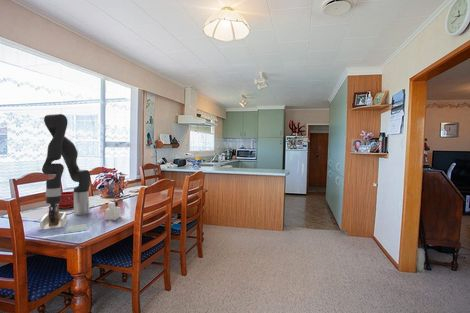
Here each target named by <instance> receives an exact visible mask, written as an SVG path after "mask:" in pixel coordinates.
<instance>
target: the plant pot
mask: <svg viewBox="0 0 470 313" xmlns="http://www.w3.org/2000/svg"><path fill="white" fill-rule="evenodd" d="M70 207H71V208H74V191H61V202H59V203H58V209H60V208H66V209H71V208H70Z"/></svg>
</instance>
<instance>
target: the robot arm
mask: <svg viewBox="0 0 470 313" xmlns="http://www.w3.org/2000/svg"><path fill="white" fill-rule="evenodd" d="M43 122H44V125H45V126H46V128H47V130H48V131H49V134H50V135H51V137H52V138H51V140H50V142H49V144H48V146H47V151H46V157H45V161H44V163H43V165H42V169H41V172H42V173H43V175H47V176H49V175H51V176H53V175H54V176H55V177H51V178H48V179H46V182H45V183H46V184H45V185H46V186H45V203H46V204H49V206H48V214H49V217H50V223H54V222H55V213H56V212H57V209H59V208H58V203H59V202H61V192H62V188H61V181H62V176H63V174H64V170H65V166H66V168H67V170H68V174H69V177H70V179H71V180H72V181H73V182H75V183H78V186H75V187H73V192H74V206H73V215H75V216H82V215H87V214H89V213H90V199H89V198H90V196H89V195H90V193H89V192H90V191H89V190H90V187H91V173H90V171H89V170H88V169H80V167H79V166H78V160H77V159H78V155H79V154H78V150H77V148H76V145H75V144H74V143H73V142H72V141H71V140H70V139H69V138H68V137H67V136H65V135H66V131H67V128H68V123H69V122H68V117H67V116H66V115H65V114H63V113H52V114H46V115H45V116H44V118H43ZM62 158H63V161H64V163H65V166H64V165H63V164H62V163H54V162H56V161H59V160H61V159H62ZM52 213H53V214H52ZM51 214H52V215H51Z"/></svg>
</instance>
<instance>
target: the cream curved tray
mask: <svg viewBox="0 0 470 313" xmlns="http://www.w3.org/2000/svg"><path fill="white" fill-rule="evenodd" d="M67 212H68V211H62V212H60V211H59V224H58V225H54V226H49V213H44V215H43V217H42V218H41V220H40V221H39V230H47V229H49V230H50V229H54V228H55V229H56V228H65V225H66V223H67V221H68V217H67V216H68V214H67Z"/></svg>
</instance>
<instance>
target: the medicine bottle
mask: <svg viewBox="0 0 470 313" xmlns="http://www.w3.org/2000/svg"><path fill="white" fill-rule="evenodd" d="M118 205H119V202H118V201H116V200H111V201H108V202H107V208H106V209H105V210H104V213H105V215H104V218H105V219H104V220H106V221H107V220H108V221H115V220H116V221H117V220H118V219H120V218H121V207H119V206H118Z"/></svg>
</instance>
